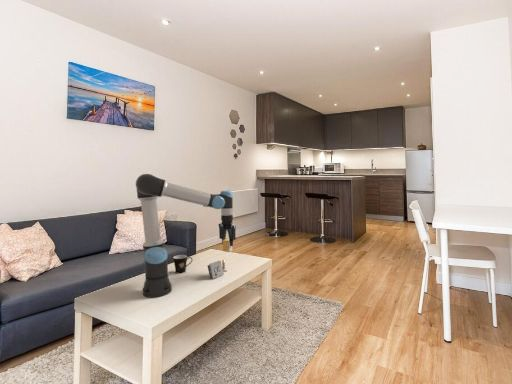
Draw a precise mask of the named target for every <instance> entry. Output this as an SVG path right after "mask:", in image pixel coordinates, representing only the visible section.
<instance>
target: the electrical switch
mask: <svg viewBox="0 0 512 384" xmlns="http://www.w3.org/2000/svg"><path fill="white" fill-rule="evenodd" d="M207 269H208V275H209V278H210V279H212V280H215V279H217V278H219V277H222V276H224V275H225V272H223V268H222V261H221V260H217V261H214V262H211V263H209V264H208V265H207Z"/></svg>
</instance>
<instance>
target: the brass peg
mask: <svg viewBox="0 0 512 384" xmlns="http://www.w3.org/2000/svg"><path fill="white" fill-rule="evenodd" d="M221 264H222V268H223V269H225V268H226V260H224V259H223V260H222V261H221Z"/></svg>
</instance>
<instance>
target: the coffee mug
mask: <svg viewBox="0 0 512 384" xmlns="http://www.w3.org/2000/svg"><path fill="white" fill-rule="evenodd" d="M188 259H191V260H190V262H189V263H188V264H187V261H188ZM192 263H193V257H191V256H190V257H188V256H187V255H185V254H180V255H179V254H178V255H174V256H173V264H174V269H175V273H176V274H184V273H186V271H187V267H188V266H189V265H191V264H192Z"/></svg>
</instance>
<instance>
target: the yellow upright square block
mask: <svg viewBox="0 0 512 384" xmlns="http://www.w3.org/2000/svg"><path fill="white" fill-rule="evenodd" d="M229 241H230V240H229V238H226V239H225V240H223V245H222V251H223V252H226V253H229V252H230V251H229Z"/></svg>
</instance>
